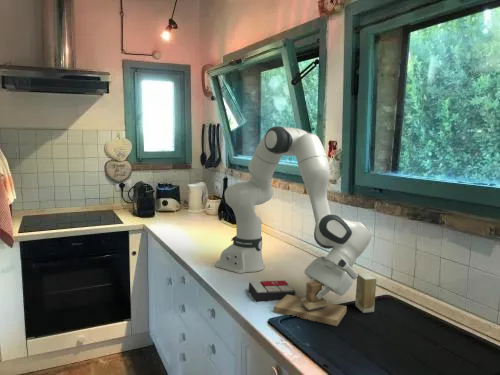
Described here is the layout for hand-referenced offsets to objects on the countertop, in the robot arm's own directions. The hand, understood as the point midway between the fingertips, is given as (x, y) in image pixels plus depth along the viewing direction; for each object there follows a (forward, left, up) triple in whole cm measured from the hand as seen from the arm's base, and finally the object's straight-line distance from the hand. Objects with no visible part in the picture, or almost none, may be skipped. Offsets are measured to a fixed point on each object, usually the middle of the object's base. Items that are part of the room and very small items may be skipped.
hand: (312, 294), depth 142 cm
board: (-1, +1, -7) cm, 7 cm away
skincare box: (+15, +12, -7) cm, 20 cm away
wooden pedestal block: (0, 0, -4) cm, 4 cm away
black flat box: (-19, +8, -7) cm, 22 cm away
